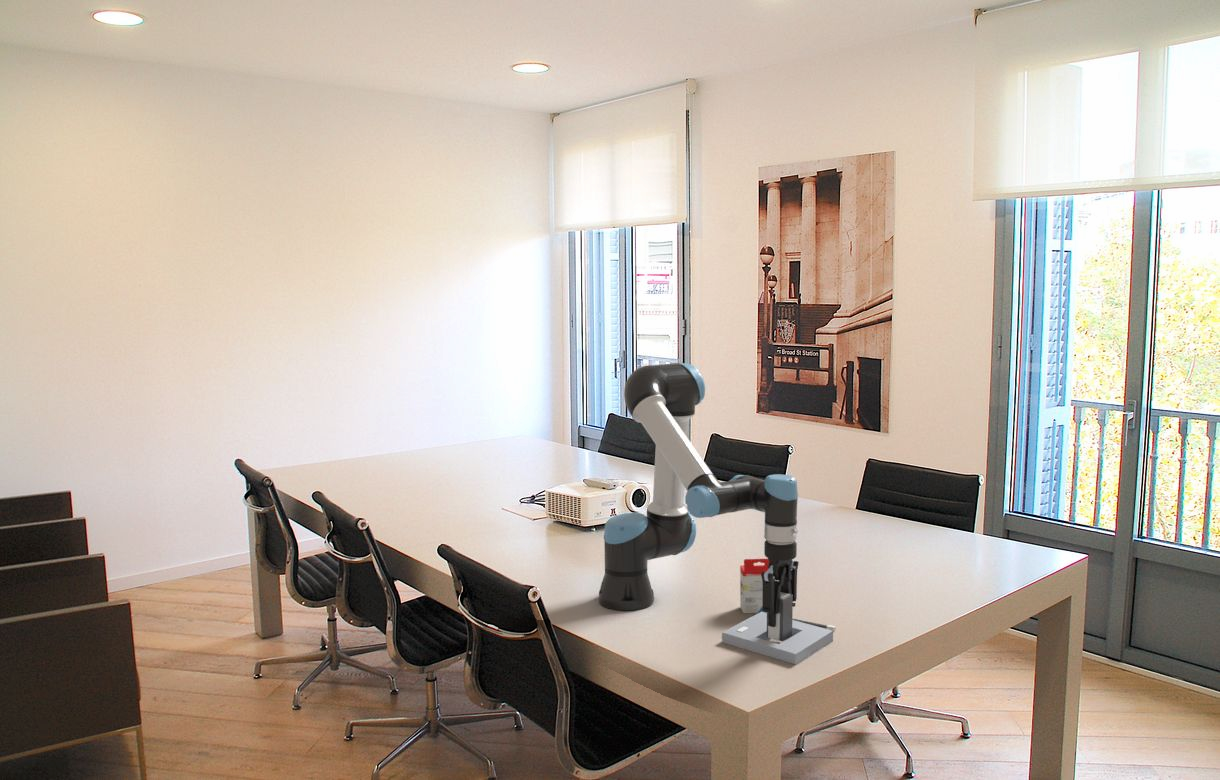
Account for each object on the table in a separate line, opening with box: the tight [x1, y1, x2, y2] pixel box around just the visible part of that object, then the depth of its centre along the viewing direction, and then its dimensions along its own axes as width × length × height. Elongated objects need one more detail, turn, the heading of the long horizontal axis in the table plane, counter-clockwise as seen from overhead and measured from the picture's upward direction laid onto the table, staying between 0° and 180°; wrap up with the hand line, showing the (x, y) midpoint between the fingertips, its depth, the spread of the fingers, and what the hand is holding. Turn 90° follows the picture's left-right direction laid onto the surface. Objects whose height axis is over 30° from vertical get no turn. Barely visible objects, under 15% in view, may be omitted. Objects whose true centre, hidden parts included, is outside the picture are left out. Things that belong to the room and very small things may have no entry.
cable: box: [792, 617, 837, 632], centre depth 229 cm, size 17×1×1 cm, turn 57°
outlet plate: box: [721, 612, 834, 666], centre depth 218 cm, size 20×18×3 cm
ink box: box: [739, 558, 769, 614], centre depth 238 cm, size 8×5×15 cm, turn 92°
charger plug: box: [767, 592, 794, 642], centre depth 216 cm, size 4×4×11 cm
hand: (779, 635), depth 216 cm, fingers closed on charger plug, 4 cm apart
